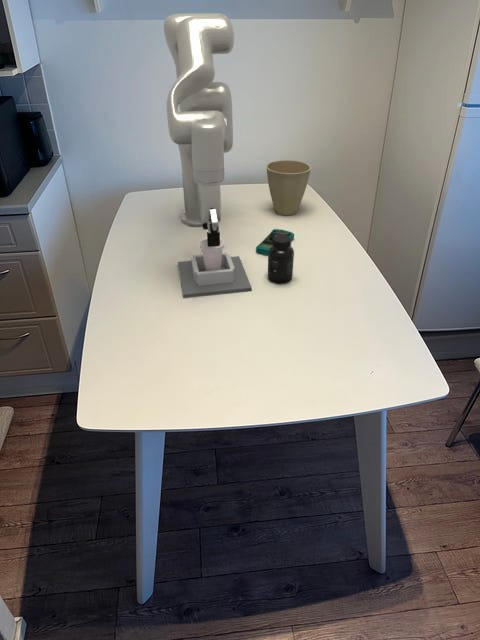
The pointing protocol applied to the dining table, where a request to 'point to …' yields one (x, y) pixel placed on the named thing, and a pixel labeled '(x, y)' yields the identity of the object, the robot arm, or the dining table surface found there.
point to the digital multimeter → (267, 242)
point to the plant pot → (287, 184)
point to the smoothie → (212, 255)
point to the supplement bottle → (280, 260)
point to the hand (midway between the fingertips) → (211, 237)
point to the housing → (213, 277)
